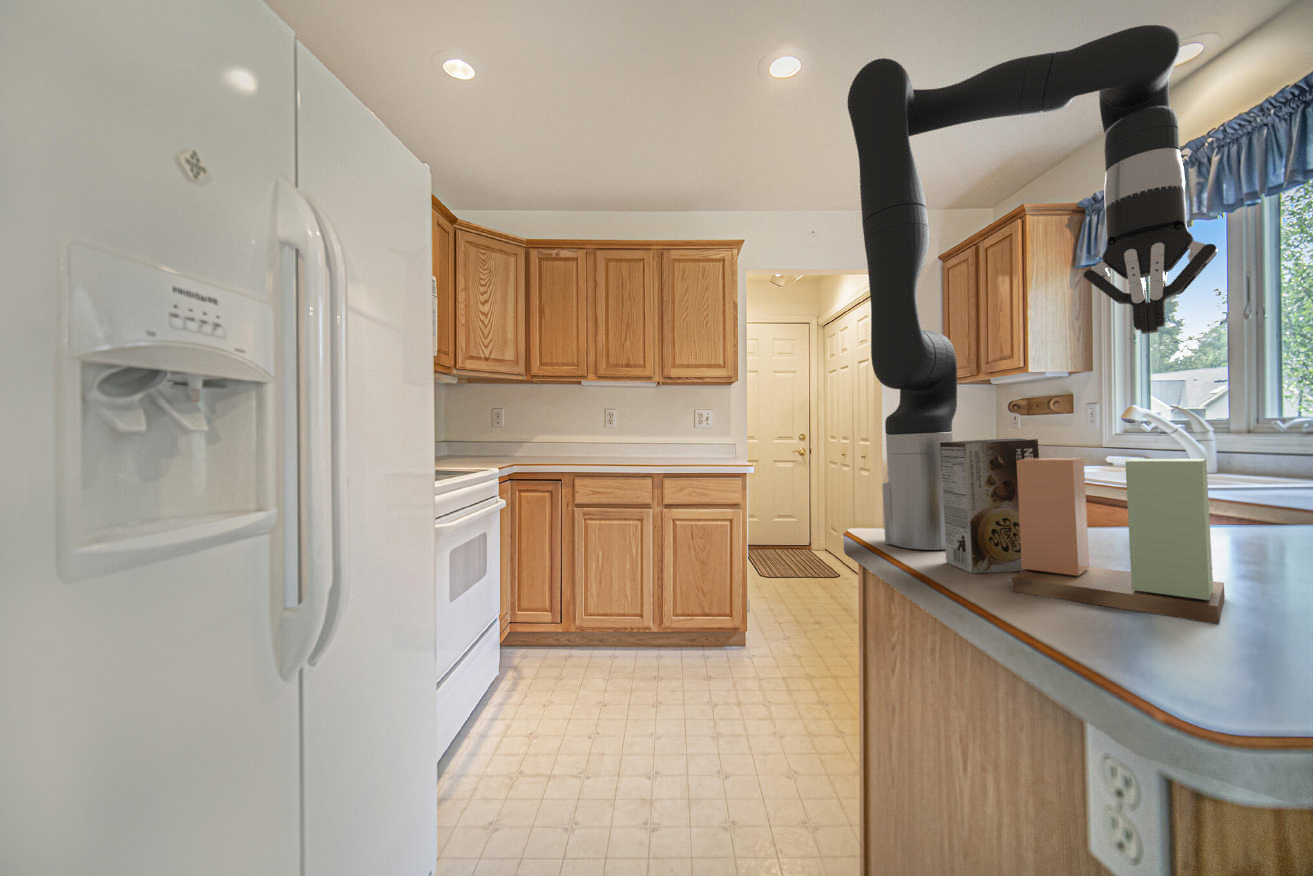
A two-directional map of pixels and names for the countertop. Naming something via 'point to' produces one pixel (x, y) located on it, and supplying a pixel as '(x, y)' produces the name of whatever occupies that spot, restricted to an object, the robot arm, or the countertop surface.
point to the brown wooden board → (1118, 593)
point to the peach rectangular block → (1053, 515)
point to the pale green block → (1169, 527)
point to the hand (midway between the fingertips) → (1150, 332)
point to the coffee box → (983, 503)
